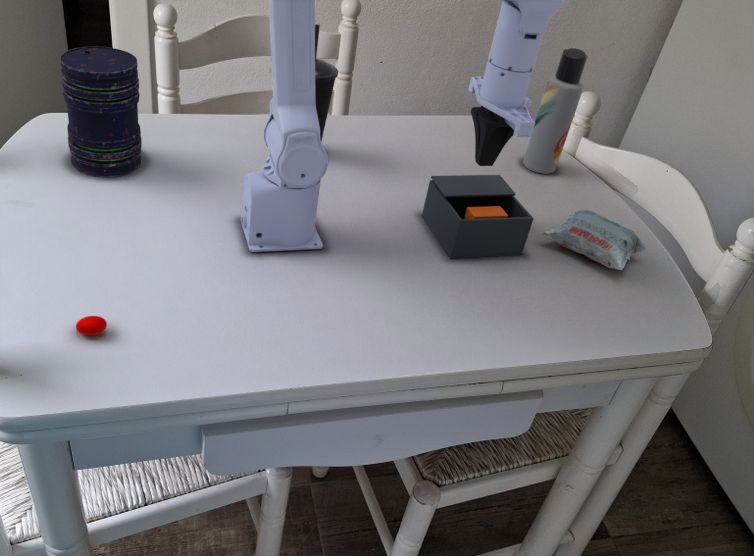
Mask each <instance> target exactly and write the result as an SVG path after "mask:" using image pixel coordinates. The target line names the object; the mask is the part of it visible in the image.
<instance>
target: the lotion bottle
mask: <svg viewBox="0 0 754 556" xmlns="http://www.w3.org/2000/svg"><path fill="white" fill-rule="evenodd" d="M588 57H589V56H588V55H587V53H586V52H585V51H584V50H582V49H580V48H574V47H573V48H565V49H563V51H562V53H561V56H560V59H559V63H558V66H557V69H556V72H555V75H551V76H549V77H548V79H547V82H546V85H545V88H544V90H543V94H542V97H541V102H540V104H539V107H538V110H537V113H536V117H535V120H534V122H535V126H534V129H533V132H532V135H531V137H529V140H528V143H527V147H526V149H525V150H526V151H525V154H524V158H523V160H522V161H523V166H524V167H525V168H526V169H528V170H529V171H532V172H534V173H537V174H541V175H542V174H543V175H548V174H549V175H550V174H553V173H554V172H555V171H556V169H557V167H558V165H559V161H560V158H561V155H562V152H563V150H564V147H565V143H566V141H567V138H568V135H569V132H570V129H571V126H572V123H573V121H574V117H575V115H576V111H577V108H578V105H579V102H580V99H581V96H582V93H583V90H584V83H583V82H581V79H582V75H583V72H584V70H585V66H586V63H587V59H588Z"/></svg>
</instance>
